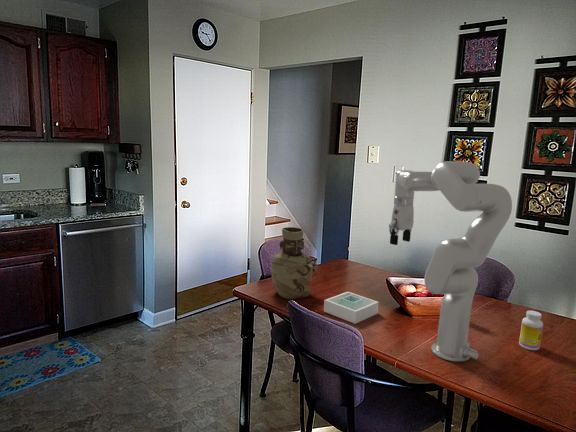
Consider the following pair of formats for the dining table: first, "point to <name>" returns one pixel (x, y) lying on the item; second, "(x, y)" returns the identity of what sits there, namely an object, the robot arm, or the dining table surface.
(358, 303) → the small crate
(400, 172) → the robot arm
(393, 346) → the dining table surface
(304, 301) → the dining table surface
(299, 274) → the ceramic vessel
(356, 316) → the white square tray
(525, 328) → the supplement bottle
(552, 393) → the dining table surface
